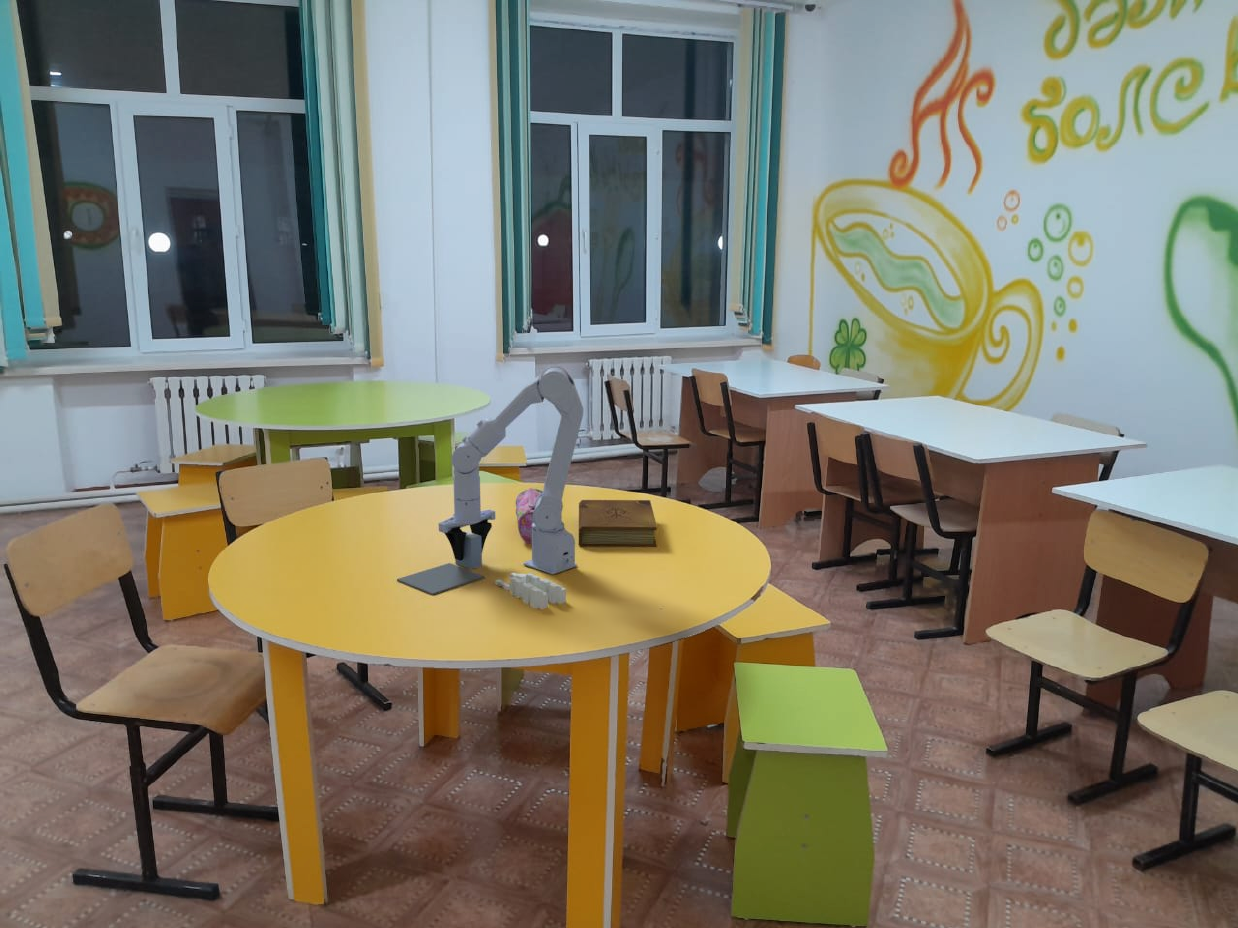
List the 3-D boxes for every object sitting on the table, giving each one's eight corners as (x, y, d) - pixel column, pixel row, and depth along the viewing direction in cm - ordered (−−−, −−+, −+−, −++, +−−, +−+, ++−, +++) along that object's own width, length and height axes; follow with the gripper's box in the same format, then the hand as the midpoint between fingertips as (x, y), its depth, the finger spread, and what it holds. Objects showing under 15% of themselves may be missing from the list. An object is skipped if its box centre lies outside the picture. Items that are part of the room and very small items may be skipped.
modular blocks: (565, 603, 181) (566, 585, 180) (538, 611, 177) (538, 592, 176) (510, 576, 196) (510, 559, 195) (483, 583, 191) (483, 565, 190)
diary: (578, 520, 238) (578, 499, 236) (649, 521, 238) (649, 500, 237) (578, 548, 215) (578, 525, 214) (656, 548, 216) (657, 525, 215)
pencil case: (554, 544, 217) (554, 508, 215) (516, 545, 216) (515, 509, 214) (550, 519, 237) (550, 485, 235) (515, 519, 236) (515, 486, 234)
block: (481, 566, 201) (481, 535, 199) (471, 569, 199) (470, 538, 197) (465, 560, 204) (465, 529, 203) (455, 563, 202) (454, 532, 200)
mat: (485, 577, 194) (485, 575, 193) (432, 595, 183) (432, 593, 183) (449, 564, 201) (449, 562, 201) (396, 580, 191) (396, 578, 191)
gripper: (480, 488, 206) (481, 545, 209) (429, 500, 195) (430, 560, 198) (501, 493, 201) (502, 551, 204) (449, 506, 191) (451, 567, 194)
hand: (468, 556), depth 201 cm, fingers open, 5 cm apart
